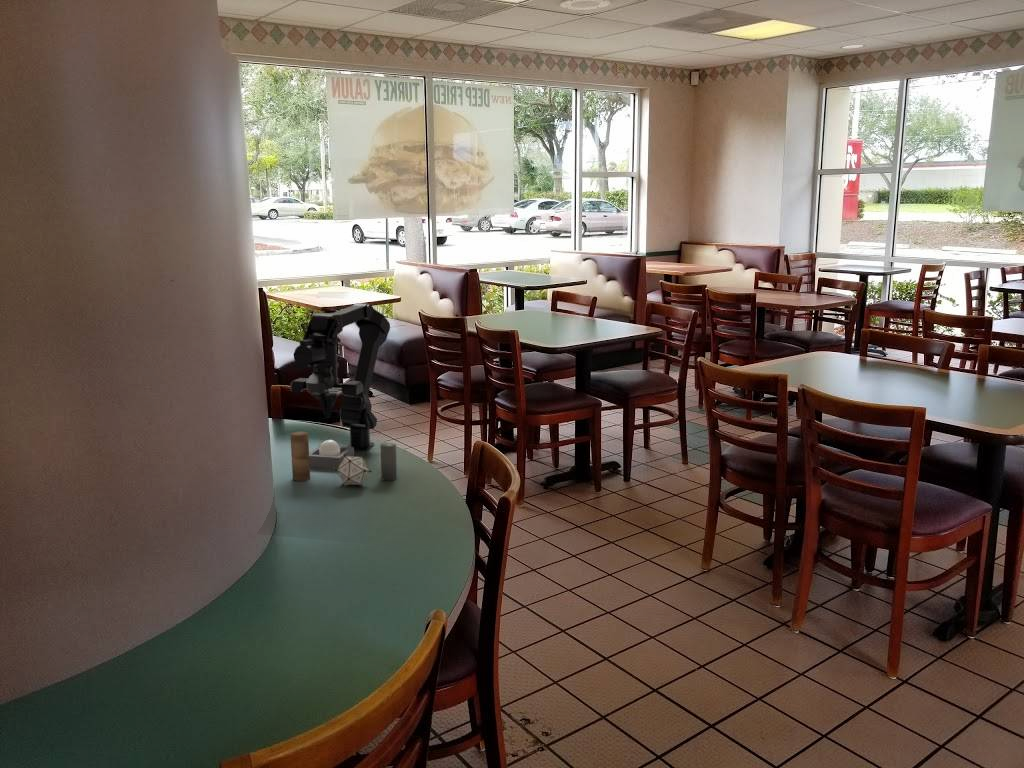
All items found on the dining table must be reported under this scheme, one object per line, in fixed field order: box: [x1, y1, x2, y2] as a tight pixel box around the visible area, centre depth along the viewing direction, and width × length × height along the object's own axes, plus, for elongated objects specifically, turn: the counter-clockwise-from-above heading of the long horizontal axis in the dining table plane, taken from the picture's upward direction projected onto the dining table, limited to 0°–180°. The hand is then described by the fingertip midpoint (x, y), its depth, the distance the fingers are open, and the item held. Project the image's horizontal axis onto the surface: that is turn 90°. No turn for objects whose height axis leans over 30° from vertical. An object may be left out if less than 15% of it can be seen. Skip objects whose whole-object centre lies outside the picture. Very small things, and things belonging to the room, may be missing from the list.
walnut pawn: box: [289, 431, 311, 482], centre depth 213 cm, size 4×4×12 cm
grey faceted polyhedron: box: [333, 453, 373, 488], centre depth 209 cm, size 9×8×10 cm
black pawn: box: [380, 442, 398, 481], centre depth 215 cm, size 4×4×9 cm
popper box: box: [309, 444, 355, 470], centre depth 227 cm, size 10×10×3 cm
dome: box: [319, 439, 340, 456], centre depth 227 cm, size 6×6×6 cm
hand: (327, 417), depth 225 cm, fingers closed
